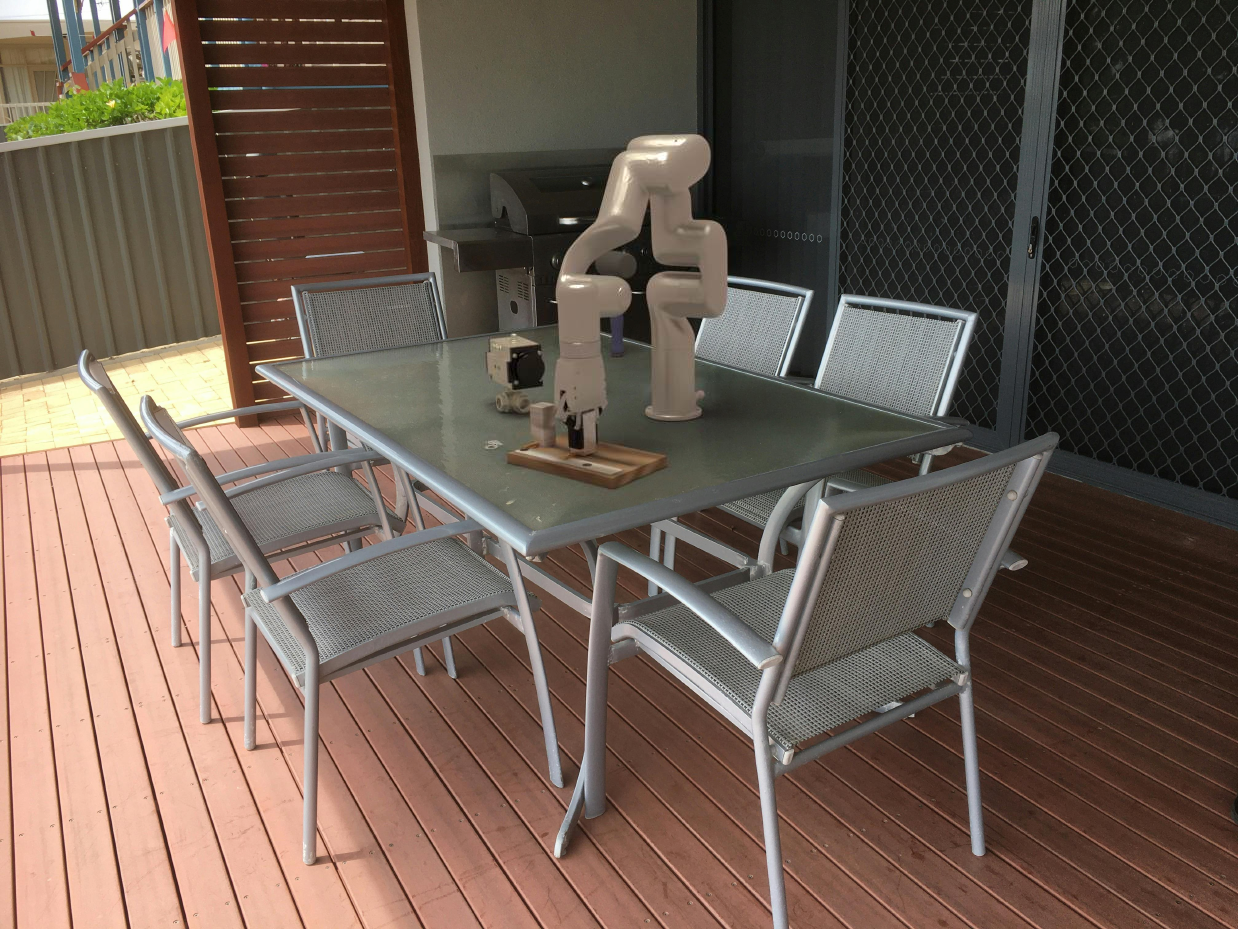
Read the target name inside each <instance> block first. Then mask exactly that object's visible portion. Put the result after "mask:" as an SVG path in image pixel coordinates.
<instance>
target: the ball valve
mask: <svg viewBox="0 0 1238 929" xmlns="http://www.w3.org/2000/svg"><path fill="white" fill-rule="evenodd" d="M487 339H488V351H486V352H485V353H484V354H485V366H486V367H485V368H486V373H487V374H489V375H490V379H491V380H492V381H494V382H496V383H498V384H500V385H502V386H504V388H508V389H505V390H504V392H502V393H501V394H496V397H495V404H496V408H497V410H498V411H499V412H504V413H513V412H517V413H519V414H526V413H528V412H529V413H530V405H533V404H534V402H533V399H532V397H531V396H530V394H527V393H526V392H524V391H522V390H527V389H534V388H540V387H544V378H543V376H544V374H545V371H546V365H545V362H544V360H543V357H542V344H541V343H537V342H535V341H532V340H530V339H527V338H524V337H521V336H518V335H517V333H511V334H510V335H509V336H502V337H501V336H500V337H492V338H491V337H490V338H487Z"/></svg>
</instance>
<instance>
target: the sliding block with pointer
mask: <svg viewBox="0 0 1238 929" xmlns="http://www.w3.org/2000/svg"><path fill="white" fill-rule="evenodd" d="M574 417H575V416H573V415H572V418H573V420H574ZM580 429H582V430H583V449H582V450H578V449H573V448H571V453H569V454H566V455H563V459H566V458H569V457H572V456H575V455H577V454H578V455H582V456H586V455H588V454H591V453H594V452H596V425H595V411H594V410H588V411H585V412H582V413H581V423H580Z"/></svg>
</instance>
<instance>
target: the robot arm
mask: <svg viewBox="0 0 1238 929" xmlns="http://www.w3.org/2000/svg"><path fill="white" fill-rule="evenodd" d="M711 154H712V153H711V148H710V145H709V143H708V141H707V140H706V138H704V136H702V135H700V134H691V133H689V134H687V133H686V134H650V135H642V136H638V137H636V138H635V137H634V138H633V139H631V140H630V141H629V142H628V145H627V146H626V150H624V151H621V153H619V154H618V155H617V156H616V157H615V158H614V160H613V162H612V164H611V165H612V166H611V169H610V170H609V171H610V172H609V175H608V179H607V182H606V186H605V190H604V194H603V198H602V201H601V205H600V208H599V212H598V216H597V218H596V220H595V222H594V223H593V224H590V226H589V227H588V228H586V230H584V232H582V233H581V234H580V235H579V237H577V239H576V240H575V241H574V242H573V243H572V245H571V246H570V247H569V248H568V250H567V251H566V254H565V255H564V258H563V260H562V264H561V266H560V271H559V274H558V277H557V282H556V287H555V300H556V303H557V315H558V317H557V318H558V320H557V321H558V338H559V339H558V340H559V342H558V344H559V358H557V360H556V363H555V364H556V365H555V373H554V384H553V385H554V388H553V389H554V390H553V393H554V394H553V395H554V396H553V397H554V398H553V401H554V402H553V404H554V405H555V420H556V419H557V420H558V421H561V422H562V424H563V425H564V426H565V428H566V429H567V435H568V444H569V447H570V448H573V449H578V450H582V449H583V430H582V429H580V423H581V413H582V412H585V411H588V410H594V411H595V425H596V444H598V441H599V435H598V434H599V433H598V432H599V431H598V430H599V429H598V426H599V425H598V424H599V423H600V421H601V418H600V417H601V415H602V413H603V410H604V409H606V406H608V404H609V402H608V399H607V382H606V381H607V380H606V372H605V365H604V359H603V355H602V353H601V352H602V351H601V349H602V348H601V346H602V341H601V318H610V317H616V316H619V315H621V314H623V315H624V313H625V312H626V311H627V310H628V308H629V307H630V305H631V302H632V299H633V298H632V289H631V286H630V284H629V283H628V282H627V281H626V280H625V279H624V278H619V277H614V276H605V275H599V274H598V275H597V274H586V272H587V271H588V269H589V267H590V266H591V265H592V264H593V263H594V261H595V260H596V259H597V258H598V257H599V256H601V255H602V254H604V253H606V252H608V251H613V250H614V249H616V248H618V247H621V246H622V245H626V244H628V243H629V242H633V240H635V239H636V238H638V236H639V234H640V233H641V229H642V226H643V223H644V219H645V215H646V211H647V207H648V204H650V221H651V224H650V226H651V227H650V228H651V246H652V254H653V257H654V259H655V261H656V262H657V263H659V264H662V265H664V266H674V267H675V266H676V267H697V268H699V272H693V271H678V270H677V271H675V270H674V271H673V270H670V271H668V270H666V271H660V272H658V273H656V274H654V275H653V276H652V277H651V278H649V280H648V283H647V285H646V289H645V290H646V292H645V293H646V302H647V307H648V312H649V318H650V331H651V332H650V333H651V335H650V336H651V405H648V406H647V407H646V408H645V410H644V412H645V413H644V414H645V415H646V417H648V418H650V419H653V420H656V421H664V422H665V421H667V422H669V421H670V422H679V421H689V420H692V419H697V418H698V417H700V416H701V415H702V407H700V406H698V405H697V402H698V401H699V400H703V399H704V398H705V396H706V394H705V392H704V391H703V390H698V391H695V390H696V389H695V388H696V387H695V386H696V385H695V384H696V383H695V380H696V378H695V375H696V372H695V371H696V368H695V367H696V366H695V365H696V361H695V359H696V337H695V332H694V330H693V327H692V326H691V324H690V322H689V320H688V319H687V318H695V319H696V318H697V319H715V318H719V317H720V316H721V315H722V314H724V311H725V309H726V307H727V302H728V240H727V235H726V232H725V230H724V228H723V226H722V225H721V224H720V223H719V222H717V221H714V220H712V219H711V220H708V219H694V218H693V215H692V198H691V193H690V190H689V188H691V187H692V186H693V185H694V184H696V183H697V182H698V181H700V180H701V179H702V178H703V177H704V176H705V175H706V173H707V172H708V170H709V168H710V163H711V160H712V159H711ZM572 415H573V416H575V417H574V420H573V418H572Z"/></svg>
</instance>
